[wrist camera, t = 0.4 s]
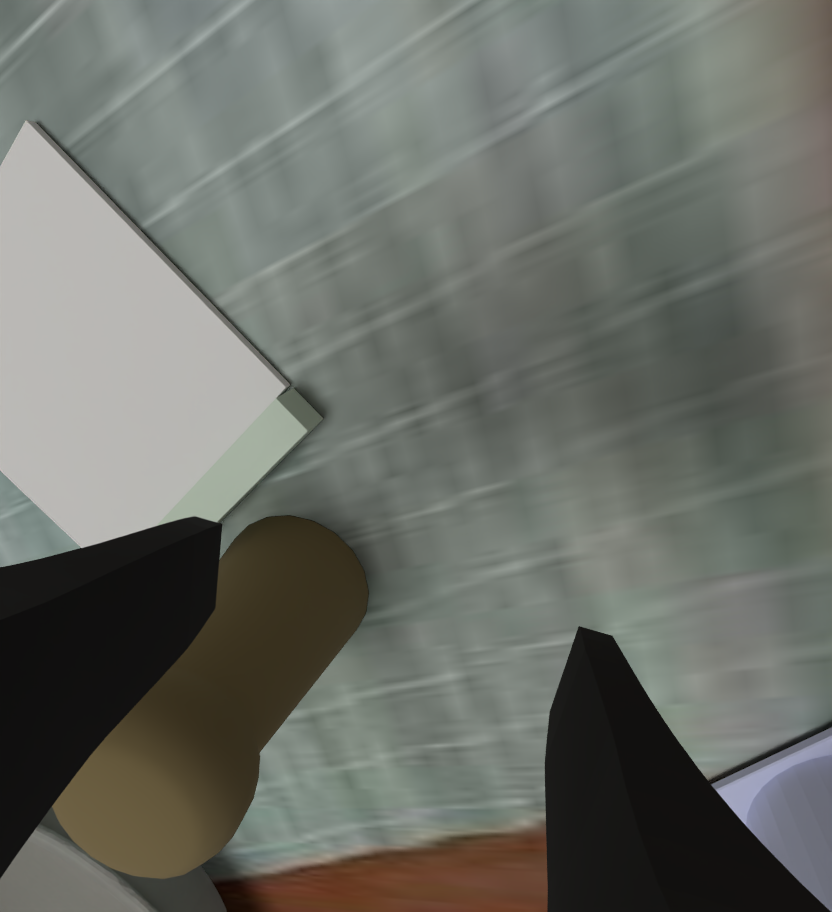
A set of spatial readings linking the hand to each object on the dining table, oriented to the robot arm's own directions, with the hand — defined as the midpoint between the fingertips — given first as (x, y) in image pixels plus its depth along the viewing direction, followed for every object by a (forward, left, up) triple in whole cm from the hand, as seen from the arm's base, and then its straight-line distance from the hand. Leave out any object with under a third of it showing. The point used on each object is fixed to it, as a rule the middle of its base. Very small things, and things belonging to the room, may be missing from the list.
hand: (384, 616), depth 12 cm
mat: (+12, +9, -10) cm, 18 cm away
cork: (0, +9, -10) cm, 14 cm away
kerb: (+5, +9, -10) cm, 14 cm away
